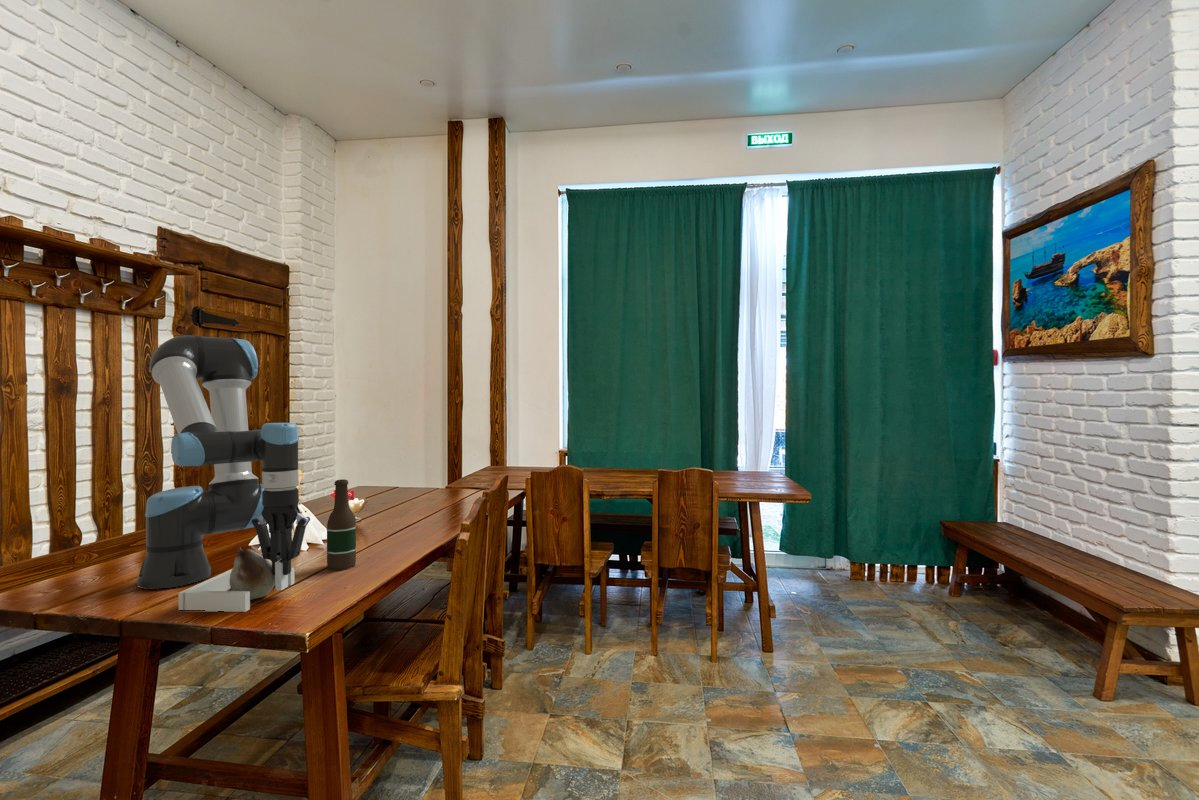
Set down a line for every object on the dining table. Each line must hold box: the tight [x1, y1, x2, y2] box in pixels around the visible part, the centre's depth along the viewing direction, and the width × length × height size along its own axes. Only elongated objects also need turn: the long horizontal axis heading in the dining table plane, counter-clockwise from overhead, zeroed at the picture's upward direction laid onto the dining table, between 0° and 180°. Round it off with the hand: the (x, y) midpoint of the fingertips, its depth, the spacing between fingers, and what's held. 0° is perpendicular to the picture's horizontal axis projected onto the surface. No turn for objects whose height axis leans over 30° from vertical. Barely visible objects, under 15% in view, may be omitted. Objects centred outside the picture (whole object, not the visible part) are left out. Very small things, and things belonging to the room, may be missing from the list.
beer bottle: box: [326, 479, 357, 571], centre depth 158 cm, size 8×8×24 cm
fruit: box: [229, 546, 275, 601], centre depth 134 cm, size 10×9×12 cm
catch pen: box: [178, 567, 295, 613], centre depth 135 cm, size 15×19×4 cm
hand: (281, 588), depth 134 cm, fingers closed
